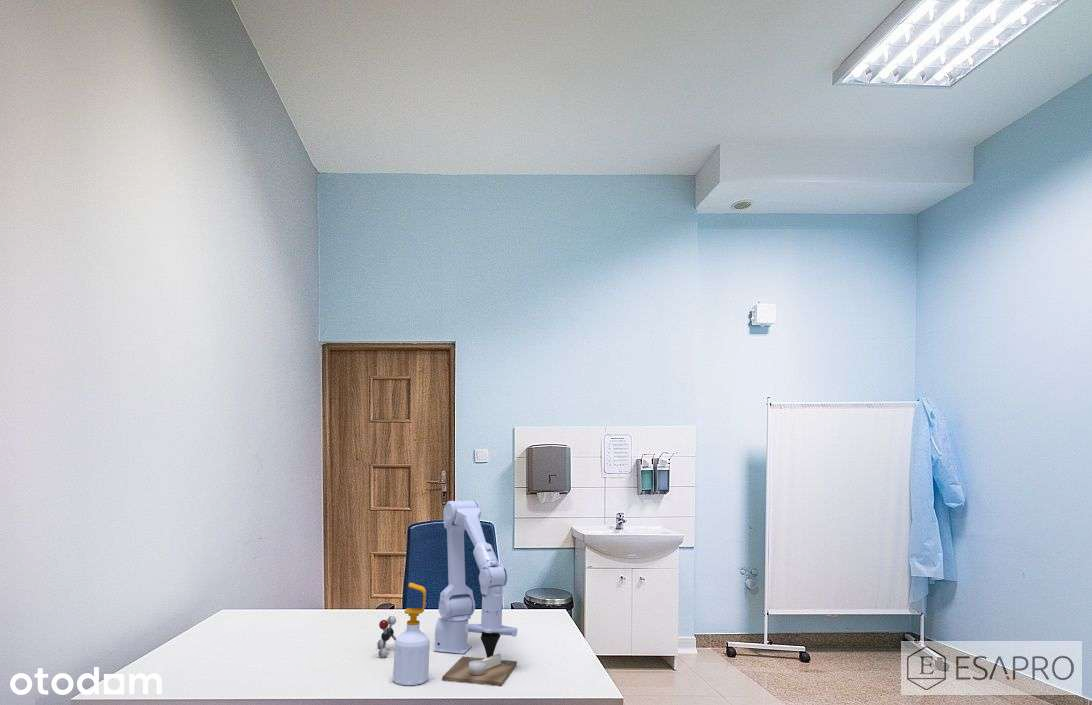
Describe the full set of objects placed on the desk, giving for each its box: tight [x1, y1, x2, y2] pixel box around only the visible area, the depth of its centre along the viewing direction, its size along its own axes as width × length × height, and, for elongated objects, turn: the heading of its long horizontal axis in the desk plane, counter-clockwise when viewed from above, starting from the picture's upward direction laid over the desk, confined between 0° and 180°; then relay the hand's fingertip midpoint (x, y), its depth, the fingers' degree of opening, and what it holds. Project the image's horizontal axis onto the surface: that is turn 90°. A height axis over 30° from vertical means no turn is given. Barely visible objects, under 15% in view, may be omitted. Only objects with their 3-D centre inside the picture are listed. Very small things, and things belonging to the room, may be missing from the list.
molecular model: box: [376, 615, 397, 659], centre depth 214 cm, size 8×12×11 cm
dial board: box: [441, 655, 518, 687], centre depth 199 cm, size 16×18×1 cm
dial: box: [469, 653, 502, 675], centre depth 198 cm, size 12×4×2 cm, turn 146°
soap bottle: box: [392, 582, 431, 686], centre depth 192 cm, size 9×9×25 cm
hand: (489, 660), depth 203 cm, fingers closed
